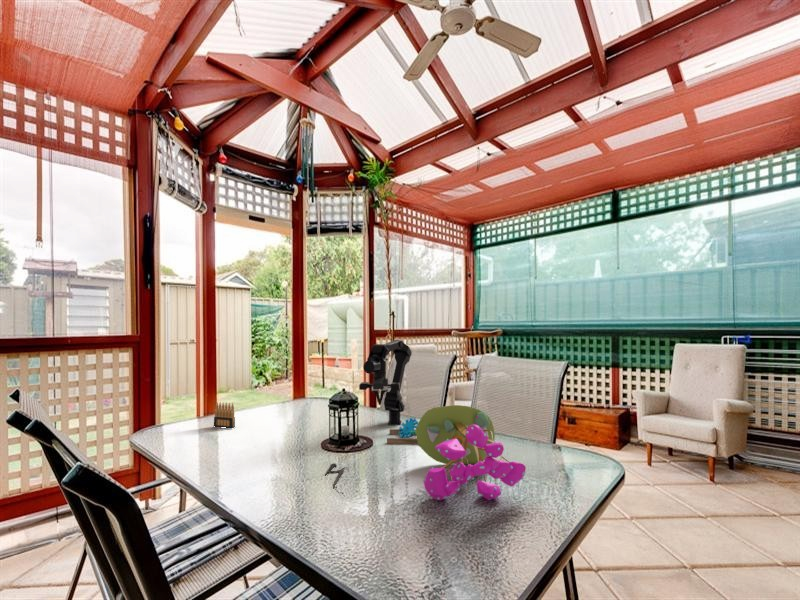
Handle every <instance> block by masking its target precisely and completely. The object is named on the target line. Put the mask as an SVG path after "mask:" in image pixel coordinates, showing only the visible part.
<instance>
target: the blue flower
mask: <svg viewBox="0 0 800 600" xmlns="http://www.w3.org/2000/svg"><path fill="white" fill-rule="evenodd" d="M418 423H419V421H417V419H416V418H412V417H410V418H409V419H405V423H404V422H401V424H400V425H401V426H400V427H399V428H398V429H399V430H400V431H399V434H398V435H399V436H400V438H408V437H409V438H412V436H415V437H417V436H416V431H415V430H416V427H417V425H418ZM401 430H403V431H402V432H401ZM403 433H404V434H403ZM411 433H412V434H413V435H412V434H411Z"/></svg>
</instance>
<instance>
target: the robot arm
mask: <svg viewBox="0 0 800 600" xmlns="http://www.w3.org/2000/svg"><path fill="white" fill-rule="evenodd" d="M390 352H392V353H393V354H394V360H395V362H396V363H395V368H394V372H393V376H392V382H391V383H389V378H387V361H388V360H389V359H388V358H387V356H389V355H390ZM412 355H413V354H412V349H411V348H410V346H408V345H407V344H405V342H404V341H403V340H401V339H393V340H391V341H389V342H386V343H383V344H381V343H379V344H378V343H377V344H376V343H375V344H373V345H372V347H371V349H370V351H369V354H368V357H367V358H366V359H367V360H366V361H365V362H364V363H363V366H362V367H363V371H364V373H366V374H373V378H372V383H370V382H369V381H362V382H360V384H359V385H358V386H359V387H358V389H359V391H361V390H362V391H366V390H367V389H371V392H372V393H374V395H375V397H376V400H377V403H378V406H381V405H382V403H383V405H384V410H385V411H388V421H387V425H398V426H399V425H401V424H402V420H401V413H402V412H404V411H405V404H404V402H403V396H402V394H401V389H402V384H403V383H402V382H403V379H404V374H405V368H406V365H407V364H408V363H409V362H410V360H411V357H412ZM383 398H384V399H383ZM382 401H383V402H382Z"/></svg>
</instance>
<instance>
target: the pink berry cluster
mask: <svg viewBox="0 0 800 600" xmlns="http://www.w3.org/2000/svg"><path fill="white" fill-rule="evenodd" d="M492 421H493V420H491V418H490V417H489V416H488V415H487V413H486V412H484V411H482V410H480V409H478V408H474V407H471V406H468V405H459V404H455V405H454V404H453V405H445V406H436V407H432V408H430V409H427V410H426V412H425V413H423V415H422V416H421V418H420V419H419V421H418V425H417V427H416V428H415V430H416V436H415V437H416V439H417V441H418V444H417V445H418V446H419V447H420V448H421V450H422V451H423V452H424V453H425V454H426V455H427V456H429V457H430V458H431V459H432V460H434V461H435V462H438V463H442V464H444V465H443V466H441V467H431V468H430V469H429V470H428V471H427V472H426V475H425V479H424V480H423V485H424V489H425V491H426V492H427V494H428V495H429V496H430V497H431V498H432V499H434V500H437V501H442V500H448V498H449V497H450V496H451V497H452V498H453V497H455V496H456V494H457V493H458V492H460V491H461V490H460V487H461V485H467V484H468V481H470V480H475V476H477V477H478V476H483V479H484V480H477V481H476V489H477V490H476V491H477V493H478V494H479V495H480V496H481V497H482V498H484V499H485V500H488V501H491V500H495V499H498V498H499V496H501V493H502V488H501V487H500V486H499V485H498V484H496V483H492V482H487V481H486V476H485V475H487V474H488V475H489V476H490V477H491V478H492V479H494V480H500V481H501V482H502V483H503V484H505V485H507V486H508V487H510V488H511V487H514V486H515V485H516V484H518V483H519V482H520V481H523V480H524V479H525V478H524V476H526V474H527V473H526V469H527V468H526V465H525V464H523V463H521V462H517V461H509V460H508V459H506V458H505V457H503V453H504V450H505V448H504V445H503V444H502V443H501V442H497V441H495V439H496V438H495V427H494V425H493V422H492ZM498 457H500V458H499V459H500V460H498V459H497V458H498ZM451 465H453V466H452V467H451ZM449 466H450V467H451V468H450V469H447V468H448V467H449ZM447 471H449V475H450V479H451V480H449V481H448V477H447Z"/></svg>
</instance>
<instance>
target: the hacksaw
mask: <svg viewBox="0 0 800 600" xmlns="http://www.w3.org/2000/svg"><path fill="white" fill-rule="evenodd" d="M337 466H338V465H337V463H335V462H333V463H331V464H330V466H329V468H327V470H326V473H324V474H325V476H326V475H327V473H328V474H337V473H336V472H338V474H337V476H336V478H335V480H334V482H333V483H334V484H332V486H333V489H334V491H335V490H336V492H337V493H339V492H340V494H341V493H342V494H344V493H343V492H341V491H338V490H337V488H338V486H337V485H336V484H338V483H339V481H340V479H341V478H342V476H343V475H344V472H345V471H344V469H345V470H346V469H348V467H347V466H345V467H342V468H341V469H337V470H334V469H335V468H337ZM334 467H335V468H334ZM333 468H334V469H333ZM332 469H333V470H332ZM331 470H332V471H331ZM329 472H331V473H329ZM341 475H342V476H341ZM327 476H328V475H327ZM340 477H341V478H340ZM339 478H340V479H339ZM337 482H338V483H337ZM335 485H336V487H335ZM335 488H336V489H335ZM342 494H341V495H342Z"/></svg>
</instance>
